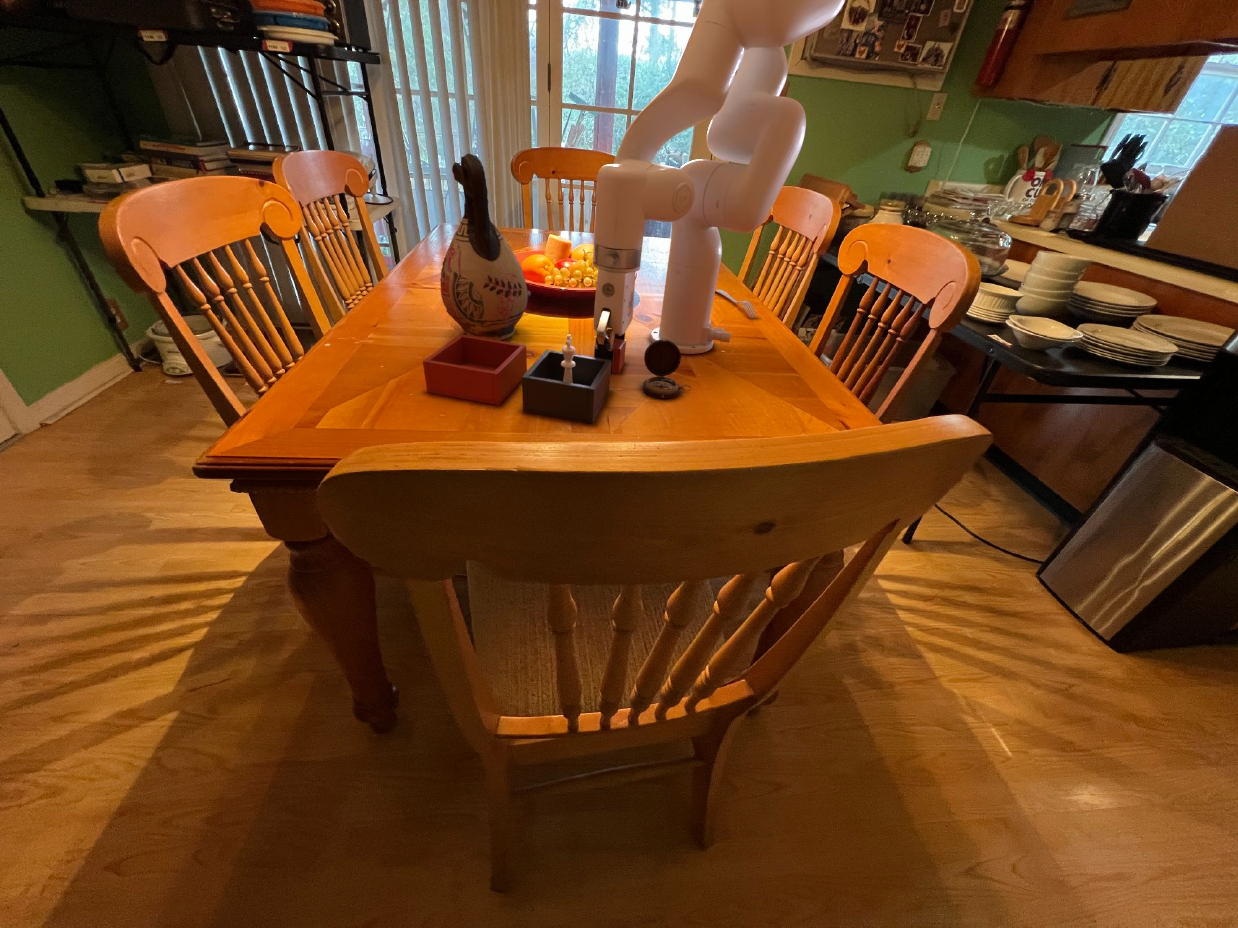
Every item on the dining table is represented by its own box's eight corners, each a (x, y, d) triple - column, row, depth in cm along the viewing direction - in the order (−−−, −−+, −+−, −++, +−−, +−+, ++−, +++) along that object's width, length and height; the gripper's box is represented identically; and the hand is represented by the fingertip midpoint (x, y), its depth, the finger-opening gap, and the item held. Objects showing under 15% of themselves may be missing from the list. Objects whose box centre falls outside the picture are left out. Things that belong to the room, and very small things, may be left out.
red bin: (527, 374, 84) (526, 345, 81) (499, 405, 75) (497, 374, 72) (462, 362, 86) (459, 334, 83) (427, 392, 76) (422, 361, 73)
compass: (643, 398, 80) (648, 355, 76) (641, 377, 87) (646, 336, 83) (693, 402, 81) (700, 359, 77) (687, 380, 87) (694, 340, 83)
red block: (624, 363, 91) (626, 340, 88) (618, 373, 87) (620, 349, 85) (599, 359, 91) (601, 336, 89) (593, 369, 88) (595, 345, 85)
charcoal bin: (609, 392, 81) (611, 360, 78) (592, 424, 73) (594, 389, 69) (546, 381, 83) (546, 349, 79) (522, 411, 74) (521, 377, 71)
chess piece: (547, 403, 75) (547, 339, 70) (556, 388, 79) (556, 327, 74) (579, 407, 75) (582, 344, 69) (586, 393, 79) (589, 331, 73)
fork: (720, 300, 135) (721, 289, 134) (759, 318, 118) (761, 306, 117) (710, 300, 135) (712, 289, 133) (748, 318, 117) (750, 306, 116)
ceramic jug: (440, 322, 100) (417, 144, 83) (517, 317, 106) (511, 150, 88) (453, 356, 88) (430, 155, 70) (540, 349, 93) (537, 161, 76)
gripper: (629, 273, 71) (619, 385, 81) (649, 249, 85) (638, 346, 95) (578, 266, 72) (574, 377, 82) (606, 243, 86) (600, 340, 96)
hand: (608, 360), depth 89 cm, fingers open, 8 cm apart
